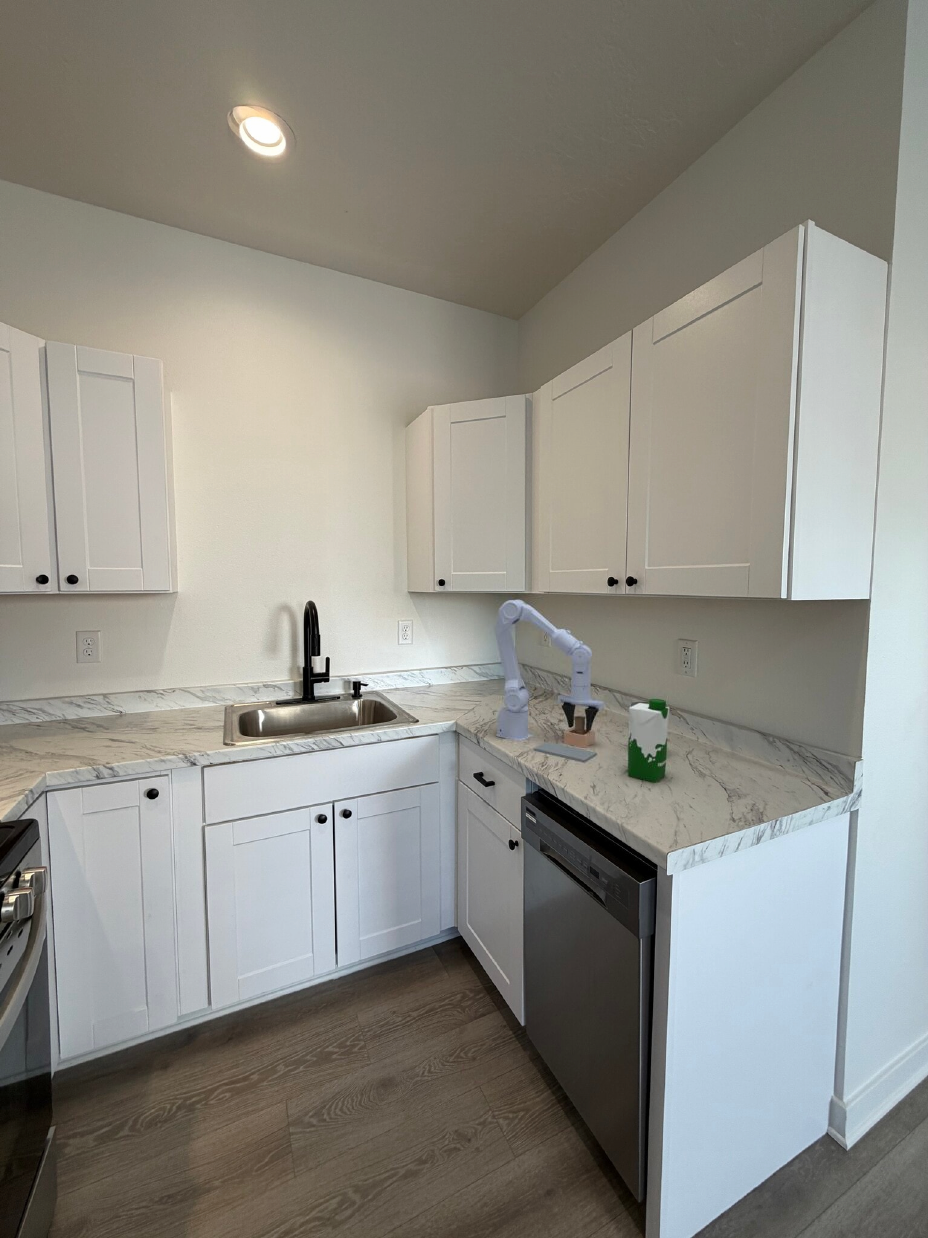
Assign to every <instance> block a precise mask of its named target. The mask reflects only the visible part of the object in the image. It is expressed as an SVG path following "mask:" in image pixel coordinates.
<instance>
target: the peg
mask: <svg viewBox="0 0 928 1238" xmlns="http://www.w3.org/2000/svg"><path fill="white" fill-rule="evenodd" d="M574 727H575V733H576V734H581V735H585V729H586V716H582V715H576V716H575V715H574Z"/></svg>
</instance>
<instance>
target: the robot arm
mask: <svg viewBox="0 0 928 1238" xmlns="http://www.w3.org/2000/svg"><path fill="white" fill-rule="evenodd" d="M519 621H521V622H529V623H531V624H533V625H534V626H535V627H536V628H538V629H539V630H541V631H542V632H544V634H546V635H547V636H548V637H550V640H551V641H550V642H551V644H552V645H553V646H555V647H556V648H557V649H558V650H560V651H561V652H562V653H563V654H564V655H566V656H567V657H569V658H570V661H571V663H572V664H571V665H572V667H571V679H570V680H571V685H570V686H571V687H570V692H571V693H570V695H558V696H557V703H559V704H562V703H563V704H562V705H561V709H562V711H563V712H564V716H565V717H566V722H567V726H568V728H569V729H572V728H574V727H575V712H576V711H575V710H576V707H577V706H581V707H586V708H585V709H584V713H585V714H584V715H585V729H586V731H590V730H591V731H592V728H593V727H592V726H593V725H594V724H593V723H594V720H595V718H596V716H597V715H598V712H599V711H600V710H601V711H602V710H604V709H605V702H604V701H600V700H596V699H592V698H591V685H592V684H591V681H592V677H591V676H592V674H591V673H592V670H591V668H592V667H591V662H590V661H591V660H592V657H593V652H592V650H591V648H590V647H589V646H588V645H586V644H584V642H583V641H581V640H578V639H577V638H576V637H574V636H573V635H572V634H571V633H572V631H570V630H569V629H567V630H566V629H564V628H561V629H558V628H556V627H555V625H553V624H552V623H551V622H550V621H549V620H548V619H546V618H545V617H544V616H543V615H542V614H541V613H540V612H539V611H538V610H536V609H535V608H534V607H532V606H531V605H529V604H527V603H526V602H525V601H523V600H521V599H514V600H513V599H512V600H511V599H510V600H507V601H505V602H503V604H502V605H501V606H500V607H499V608H498V615H497V617H496V620H495V624H494V629H493V630H494V634H495V639H496V643H497V648H498V652H499V657H500V662H501V665H502V666H501V667H502V670H503V677H504V680H505V682H504V683H505V684H504V689H503V690H504V698H503V702H504V706H505V707H502V708H500V709H499V711H498V714H497V725H496V726H497V731H496V732H497V733H496V734H495V736H496V737H498V738H503V739H510V740H515V741H517V742H518V741H519V742H521V741H524V740H526V739H528V738H530V737H533V736H534V734H531V733H529V707H528V705H527V704H528V703H529V702H530V699H531V696H530V695H531V694H530V691H529V690H528V689H527V687H526V684H525V682H524V680H523V679H522V676H521V670H520V666H519V663H518V657H517V652H516V649H515V648H516V647H515V643H514V638H513V633H512V630H513V629H514V627H515V626H516V624H517V623H518V622H519Z"/></svg>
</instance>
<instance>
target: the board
mask: <svg viewBox="0 0 928 1238" xmlns="http://www.w3.org/2000/svg"><path fill="white" fill-rule="evenodd" d="M533 751H534V752H538V753H542V754H547V755H551V756H555V757H559V758H563V759H567V760H570V761H576V762H580V763H584V764H585V763H586V762H588V761H590V760H591V759H593V758H595V757H597V756H598V755H597V754H598V753H597V752H595V751H590V750H587V749H583V748H582V749H581V748H579V747H578V748H576V747H572V746H568V745H563V744H558V743H555V742H549V741H546V742H544V743H541V744H540V745H538V746H536V747H533Z"/></svg>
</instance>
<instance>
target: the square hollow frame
mask: <svg viewBox="0 0 928 1238" xmlns="http://www.w3.org/2000/svg"><path fill="white" fill-rule="evenodd" d="M594 743H596V731H595V730H592V729H591V730H590V731H586V728H585V735H581V734H576V733H575V726H573V727H571V728H569V729H568V730H566V731H565V730H564V732H563V744H565V745H570V746H574V747H578V748H582V749H586V748H588V747H590V746H591V745H593V744H594Z"/></svg>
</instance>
